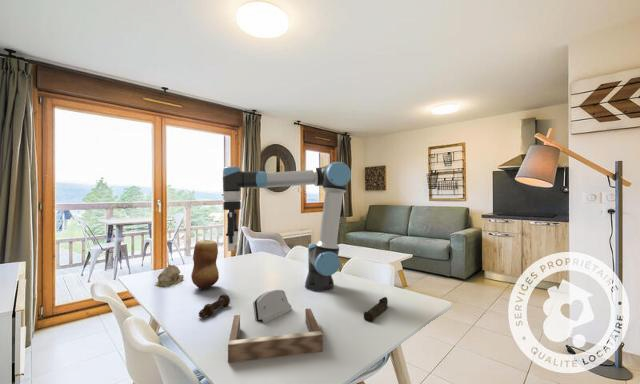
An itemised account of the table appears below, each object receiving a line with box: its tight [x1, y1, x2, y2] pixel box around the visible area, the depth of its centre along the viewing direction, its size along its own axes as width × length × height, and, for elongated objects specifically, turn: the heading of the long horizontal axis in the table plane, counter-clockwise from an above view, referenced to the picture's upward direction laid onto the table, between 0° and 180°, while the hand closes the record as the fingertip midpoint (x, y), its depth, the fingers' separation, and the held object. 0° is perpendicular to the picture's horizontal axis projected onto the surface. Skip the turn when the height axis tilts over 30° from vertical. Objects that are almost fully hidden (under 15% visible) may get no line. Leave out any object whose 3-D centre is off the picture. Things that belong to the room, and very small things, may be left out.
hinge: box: [252, 289, 293, 324], centre depth 116 cm, size 17×5×10 cm, turn 145°
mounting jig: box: [227, 308, 324, 364], centre depth 95 cm, size 28×21×5 cm
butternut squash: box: [190, 239, 220, 291], centre depth 148 cm, size 14×13×25 cm
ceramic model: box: [155, 264, 185, 287], centre depth 158 cm, size 14×11×10 cm
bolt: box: [198, 293, 231, 319], centre depth 117 cm, size 6×5×15 cm
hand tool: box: [363, 296, 389, 323], centre depth 115 cm, size 19×4×5 cm, turn 142°
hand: (232, 248), depth 128 cm, fingers open, 13 cm apart
